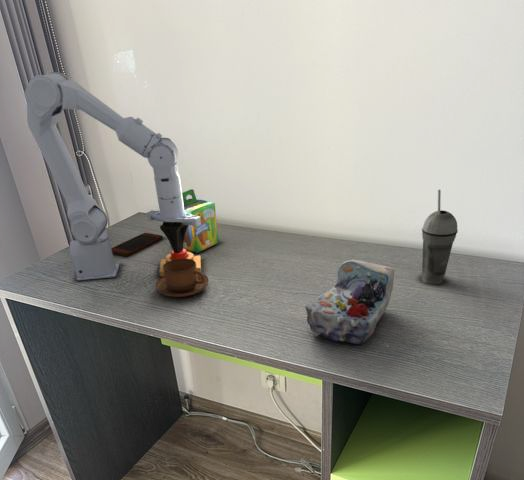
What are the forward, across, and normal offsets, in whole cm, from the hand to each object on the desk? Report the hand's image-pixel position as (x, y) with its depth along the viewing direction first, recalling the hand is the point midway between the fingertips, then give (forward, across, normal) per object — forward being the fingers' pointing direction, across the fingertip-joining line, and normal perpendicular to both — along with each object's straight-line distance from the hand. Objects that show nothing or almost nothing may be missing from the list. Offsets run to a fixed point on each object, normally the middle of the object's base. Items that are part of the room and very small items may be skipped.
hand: (178, 251), depth 122 cm
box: (+4, 0, 0) cm, 4 cm away
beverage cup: (+5, -58, -16) cm, 61 cm away
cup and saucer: (+5, -8, +10) cm, 13 cm away
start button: (+2, 0, 0) cm, 2 cm away
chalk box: (+5, +5, -15) cm, 16 cm away
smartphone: (+4, +22, -8) cm, 24 cm away
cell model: (+5, -48, +10) cm, 49 cm away
